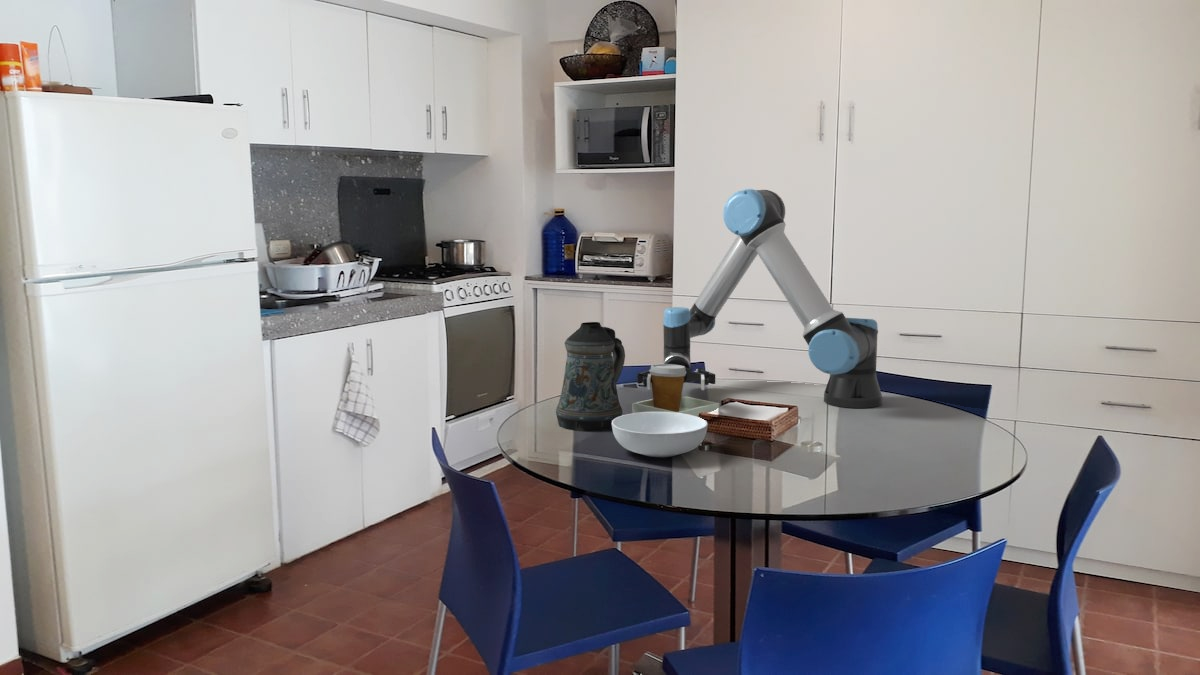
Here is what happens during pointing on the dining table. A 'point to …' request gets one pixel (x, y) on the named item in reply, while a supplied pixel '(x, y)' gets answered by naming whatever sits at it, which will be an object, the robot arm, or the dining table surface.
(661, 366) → the disposable coffee cup
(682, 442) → the serving bowl
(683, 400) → the tray
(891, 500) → the dining table surface
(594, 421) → the beer stein
